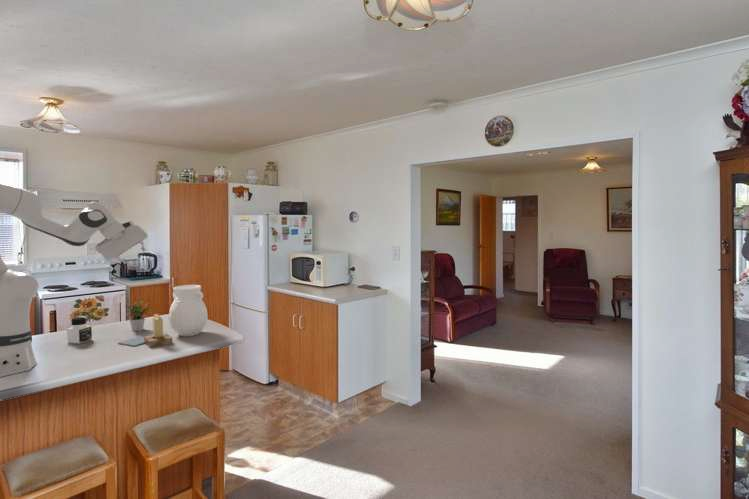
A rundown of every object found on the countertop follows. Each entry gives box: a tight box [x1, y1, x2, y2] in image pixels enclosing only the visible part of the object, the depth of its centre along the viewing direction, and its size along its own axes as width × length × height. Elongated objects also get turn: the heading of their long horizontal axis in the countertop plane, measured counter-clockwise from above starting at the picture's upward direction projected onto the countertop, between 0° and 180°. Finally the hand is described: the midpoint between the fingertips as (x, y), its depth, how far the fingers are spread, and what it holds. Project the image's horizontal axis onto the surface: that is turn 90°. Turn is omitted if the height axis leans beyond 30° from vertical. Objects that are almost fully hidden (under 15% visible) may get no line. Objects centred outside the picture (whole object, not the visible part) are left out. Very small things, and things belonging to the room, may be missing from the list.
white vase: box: [168, 284, 209, 337], centre depth 222 cm, size 19×18×25 cm
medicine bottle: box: [66, 315, 93, 345], centre depth 208 cm, size 7×7×12 cm
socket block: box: [143, 332, 173, 348], centre depth 206 cm, size 10×10×3 cm
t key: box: [152, 313, 164, 339], centre depth 206 cm, size 4×8×14 cm, turn 40°
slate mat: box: [117, 336, 146, 347], centre depth 208 cm, size 11×11×1 cm
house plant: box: [124, 299, 151, 332], centre depth 228 cm, size 14×14×16 cm
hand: (135, 256), depth 196 cm, fingers open, 8 cm apart
